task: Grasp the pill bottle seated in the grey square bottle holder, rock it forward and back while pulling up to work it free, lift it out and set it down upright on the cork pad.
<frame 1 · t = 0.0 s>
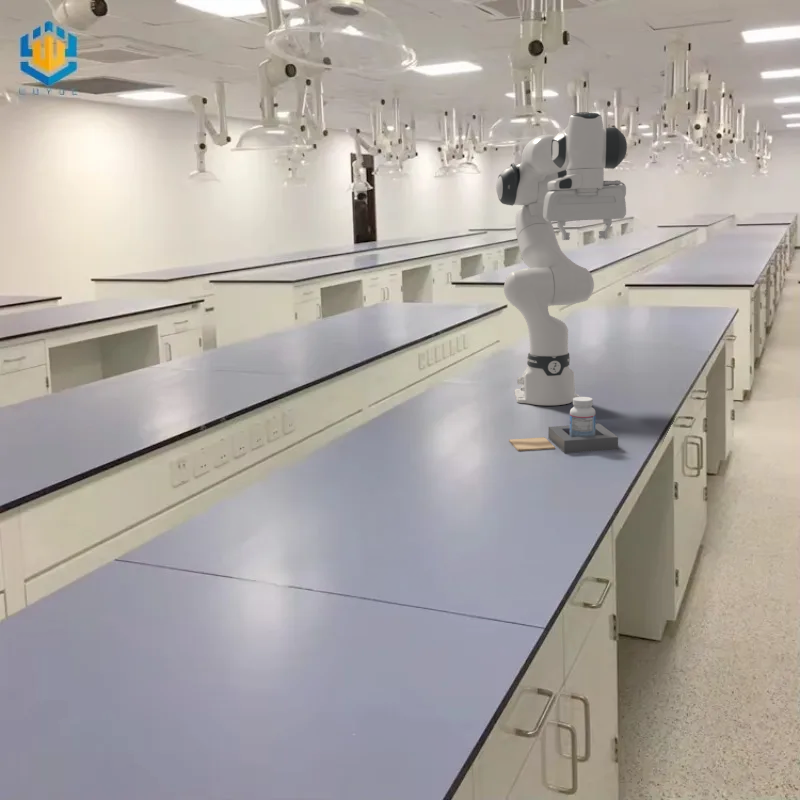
hand: (584, 239, 212), 48 cm above the worktop, fingers open, 8 cm apart
grey square bottle holder: (582, 443, 207), on the worktop
cork pad: (531, 444, 208), on the worktop
pill bottle: (582, 444, 207), resting in grey square bottle holder
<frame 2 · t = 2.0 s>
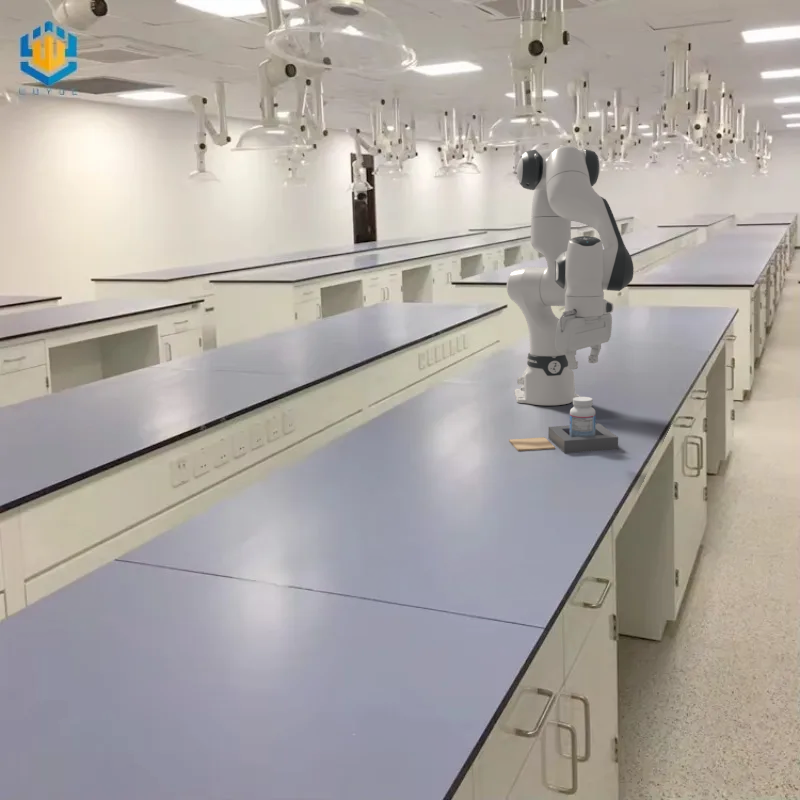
hand: (583, 366, 203), 19 cm above the worktop, fingers open, 8 cm apart
nothing on the worktop moved.
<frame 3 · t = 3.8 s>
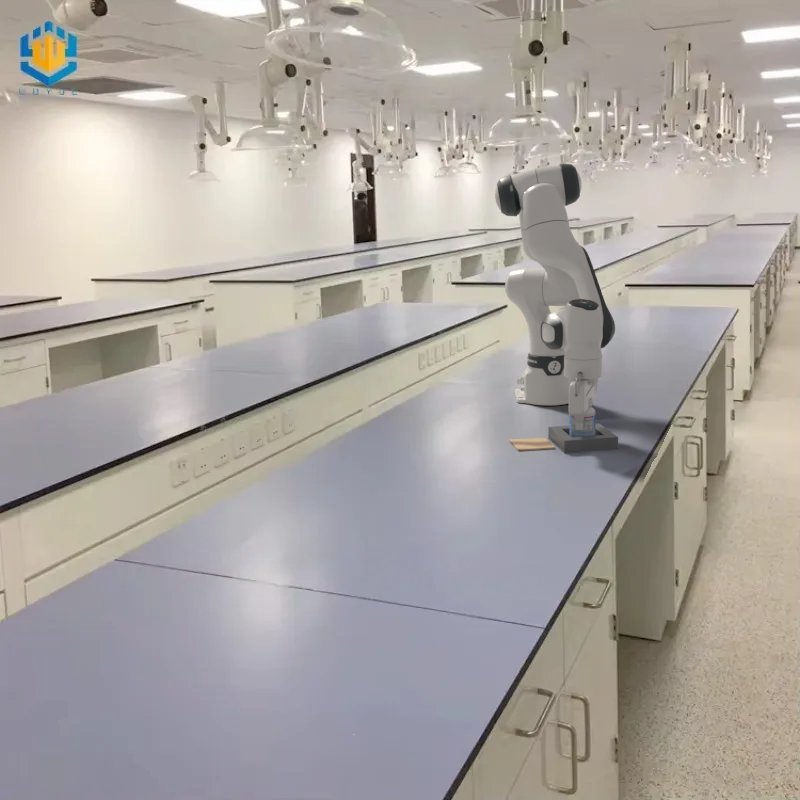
hand: (582, 425, 206), 5 cm above the worktop, fingers closed on pill bottle, 6 cm apart
pill bottle: (582, 444, 207), resting in grey square bottle holder, touching gripper
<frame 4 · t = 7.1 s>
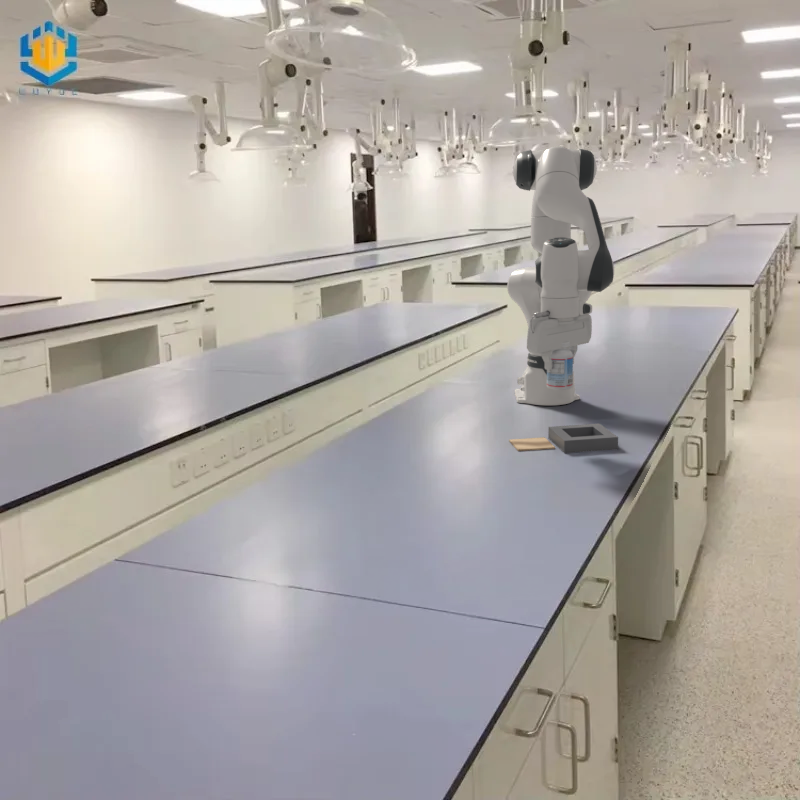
hand: (559, 366, 203), 19 cm above the worktop, fingers closed on pill bottle, 6 cm apart
pill bottle: (559, 388, 205), point 14 cm above the worktop, touching gripper
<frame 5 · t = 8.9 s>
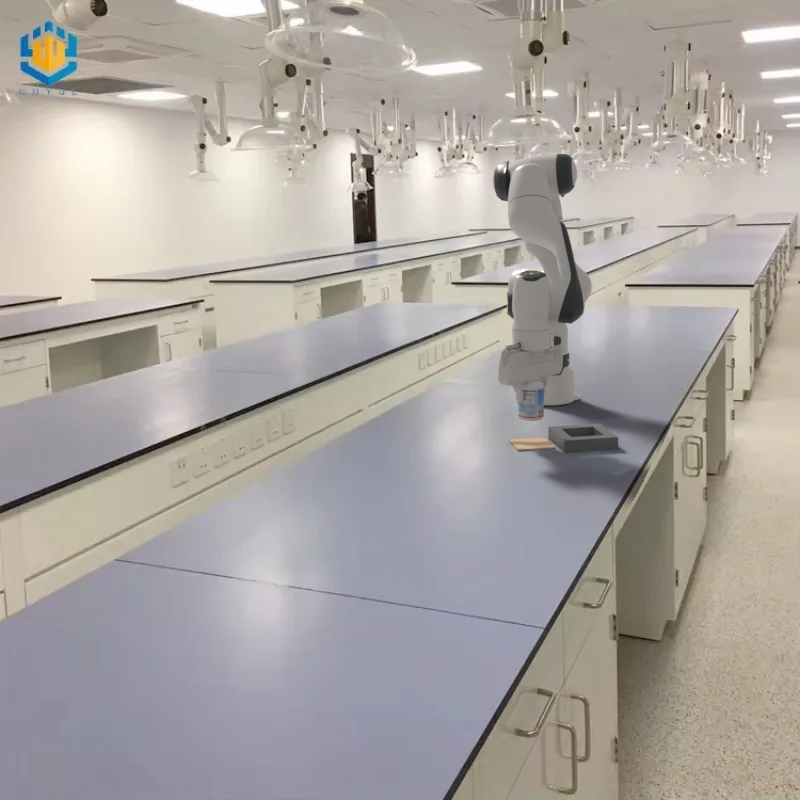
hand: (530, 397, 205), 12 cm above the worktop, fingers closed on pill bottle, 6 cm apart
pill bottle: (530, 419, 207), point 6 cm above the worktop, touching gripper
when the fingers open (6 cm above the worktop, at t = 10.4 s): pill bottle stays where it is, resting on cork pad.
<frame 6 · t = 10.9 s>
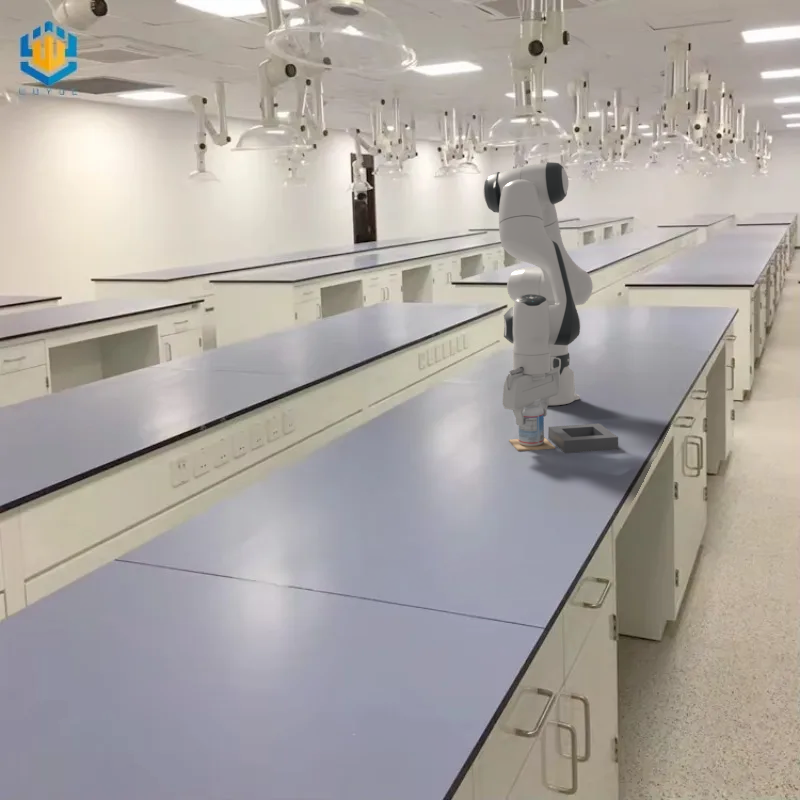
hand: (531, 420, 207), 6 cm above the worktop, fingers open, 8 cm apart
pill bottle: (531, 444, 208), resting on cork pad
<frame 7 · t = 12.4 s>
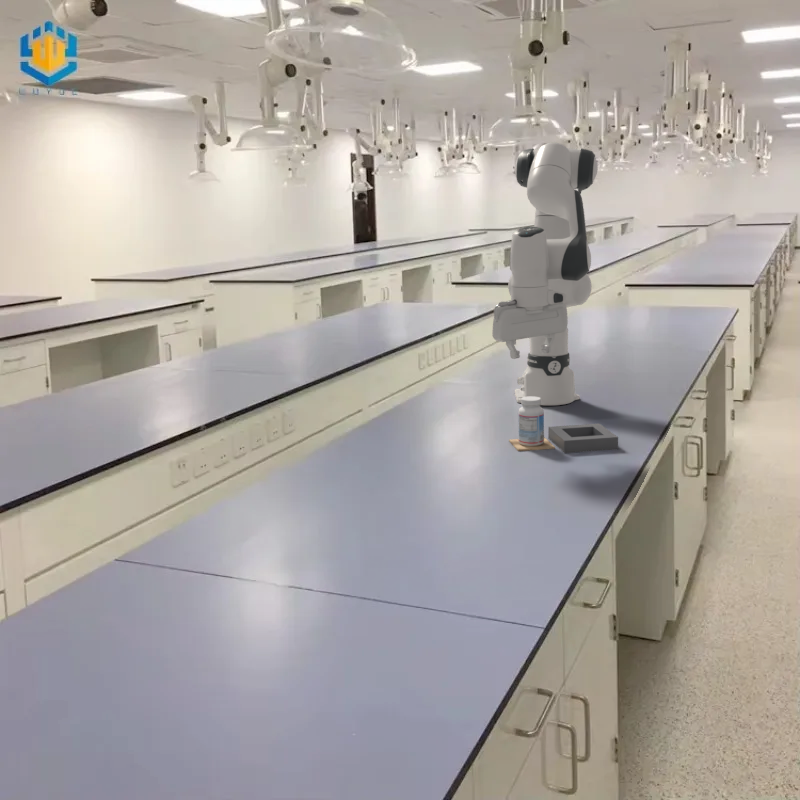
hand: (530, 355, 205), 22 cm above the worktop, fingers open, 8 cm apart
nothing on the worktop moved.
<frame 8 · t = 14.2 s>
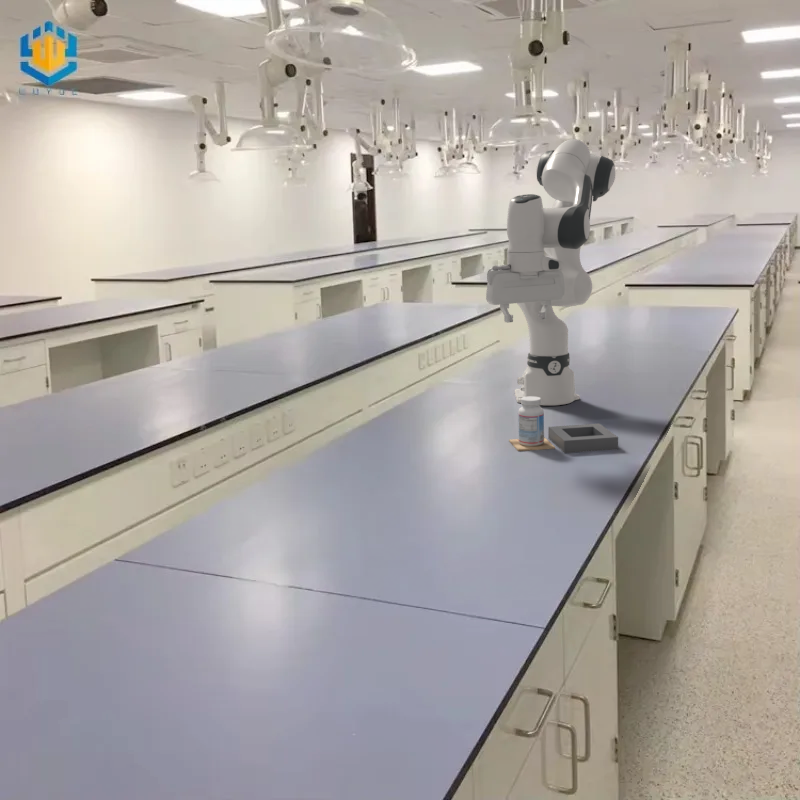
hand: (525, 320, 210), 29 cm above the worktop, fingers open, 8 cm apart
nothing on the worktop moved.
at the end: pill bottle inside the target area on the cork pad (0.2 cm from its centre), point 0.2 cm above the cork pad's base; pill bottle tilted 0°; the gripper is holding nothing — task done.
